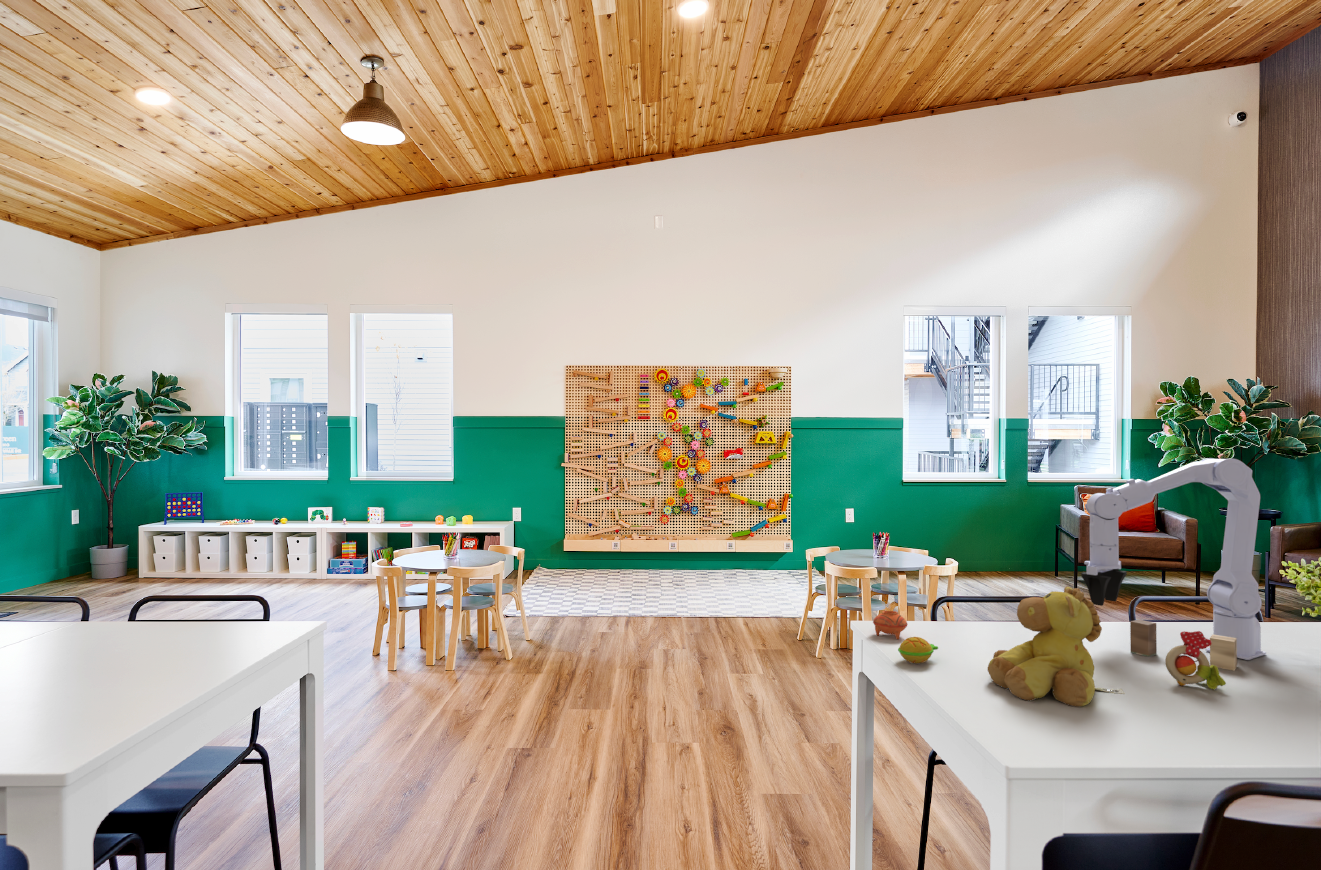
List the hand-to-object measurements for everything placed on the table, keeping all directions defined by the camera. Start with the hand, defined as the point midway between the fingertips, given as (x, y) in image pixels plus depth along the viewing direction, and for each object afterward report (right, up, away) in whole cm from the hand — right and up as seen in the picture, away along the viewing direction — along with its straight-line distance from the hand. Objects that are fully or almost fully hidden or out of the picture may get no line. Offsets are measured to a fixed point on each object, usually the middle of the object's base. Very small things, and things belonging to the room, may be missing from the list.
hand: (1104, 602), depth 161 cm
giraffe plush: (-29, -10, -29) cm, 42 cm away
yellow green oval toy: (-49, -10, -13) cm, 51 cm away
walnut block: (+5, -10, -6) cm, 13 cm away
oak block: (+16, -10, -15) cm, 24 cm away
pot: (-48, -10, +7) cm, 50 cm away
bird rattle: (0, -10, -28) cm, 29 cm away
